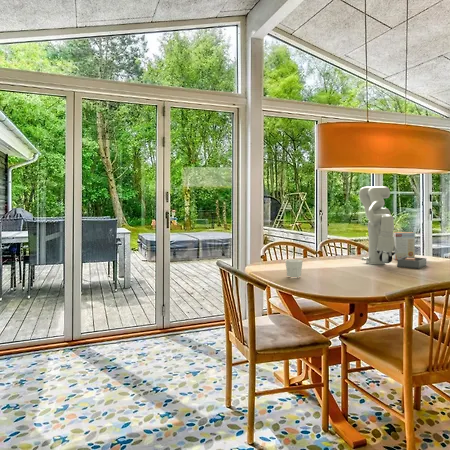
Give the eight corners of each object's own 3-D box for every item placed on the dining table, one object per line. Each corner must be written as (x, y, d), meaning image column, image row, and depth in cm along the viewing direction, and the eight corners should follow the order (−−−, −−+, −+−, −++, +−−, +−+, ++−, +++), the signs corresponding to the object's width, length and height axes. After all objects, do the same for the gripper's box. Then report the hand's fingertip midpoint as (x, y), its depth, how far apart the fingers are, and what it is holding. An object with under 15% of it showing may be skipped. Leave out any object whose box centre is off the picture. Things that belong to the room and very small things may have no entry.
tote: (419, 268, 245) (419, 261, 245) (397, 266, 254) (397, 259, 254) (426, 265, 258) (426, 258, 258) (405, 263, 267) (405, 256, 267)
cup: (285, 278, 217) (285, 261, 217) (285, 275, 227) (285, 259, 226) (303, 279, 216) (303, 262, 215) (301, 275, 226) (301, 259, 225)
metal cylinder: (381, 262, 248) (381, 252, 247) (382, 261, 252) (382, 251, 251) (389, 263, 245) (389, 253, 244) (390, 262, 249) (390, 251, 249)
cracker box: (411, 259, 288) (412, 231, 286) (414, 260, 282) (415, 232, 280) (392, 259, 289) (393, 231, 288) (395, 260, 283) (395, 232, 282)
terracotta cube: (412, 266, 250) (413, 259, 250) (404, 265, 253) (405, 258, 253) (415, 265, 254) (415, 258, 253) (407, 264, 257) (407, 257, 257)
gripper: (371, 233, 249) (370, 260, 251) (398, 235, 238) (397, 264, 240) (375, 232, 255) (374, 258, 257) (402, 234, 244) (401, 262, 246)
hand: (385, 261), depth 248 cm, fingers closed on metal cylinder, 5 cm apart
